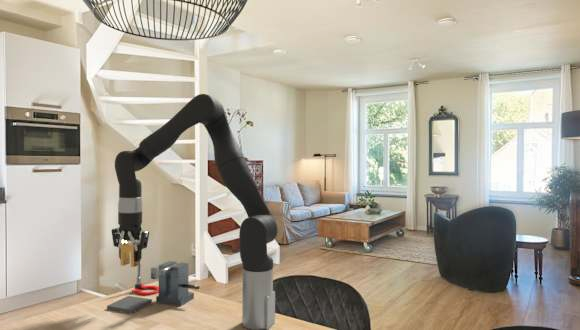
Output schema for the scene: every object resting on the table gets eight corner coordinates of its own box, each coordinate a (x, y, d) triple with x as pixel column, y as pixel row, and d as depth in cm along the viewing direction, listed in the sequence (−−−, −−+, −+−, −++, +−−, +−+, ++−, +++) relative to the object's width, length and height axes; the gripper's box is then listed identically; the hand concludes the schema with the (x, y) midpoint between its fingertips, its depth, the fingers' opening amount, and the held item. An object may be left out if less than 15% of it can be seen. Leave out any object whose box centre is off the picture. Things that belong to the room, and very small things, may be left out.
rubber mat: (151, 302, 141) (151, 299, 141) (131, 313, 131) (131, 309, 131) (128, 299, 144) (128, 295, 144) (107, 309, 135) (107, 305, 135)
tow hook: (164, 290, 156) (142, 287, 157) (165, 256, 155) (143, 254, 157) (153, 297, 147) (129, 294, 149) (154, 262, 147) (131, 259, 148)
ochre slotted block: (139, 264, 138) (139, 244, 138) (133, 267, 135) (133, 246, 135) (126, 263, 140) (126, 242, 140) (120, 265, 137) (120, 244, 137)
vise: (206, 300, 144) (206, 259, 144) (179, 317, 129) (179, 271, 129) (170, 294, 149) (170, 255, 149) (140, 310, 134) (140, 266, 134)
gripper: (155, 210, 138) (155, 259, 139) (121, 207, 143) (120, 255, 143) (140, 213, 131) (140, 265, 132) (104, 210, 136) (104, 260, 136)
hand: (130, 260), depth 137 cm, fingers closed on ochre slotted block, 5 cm apart
